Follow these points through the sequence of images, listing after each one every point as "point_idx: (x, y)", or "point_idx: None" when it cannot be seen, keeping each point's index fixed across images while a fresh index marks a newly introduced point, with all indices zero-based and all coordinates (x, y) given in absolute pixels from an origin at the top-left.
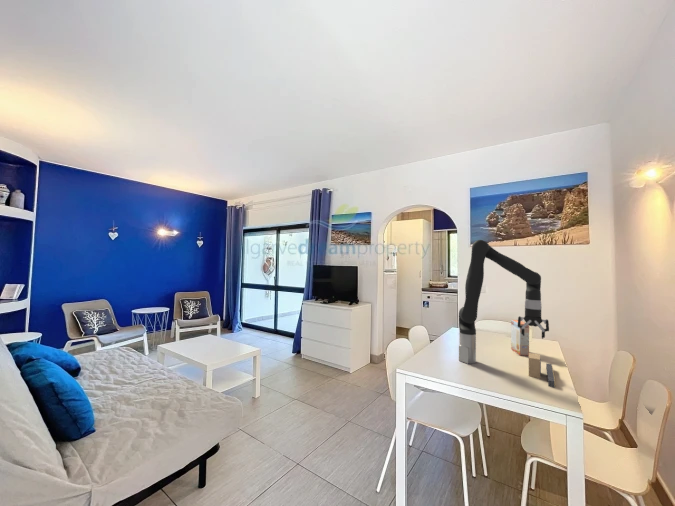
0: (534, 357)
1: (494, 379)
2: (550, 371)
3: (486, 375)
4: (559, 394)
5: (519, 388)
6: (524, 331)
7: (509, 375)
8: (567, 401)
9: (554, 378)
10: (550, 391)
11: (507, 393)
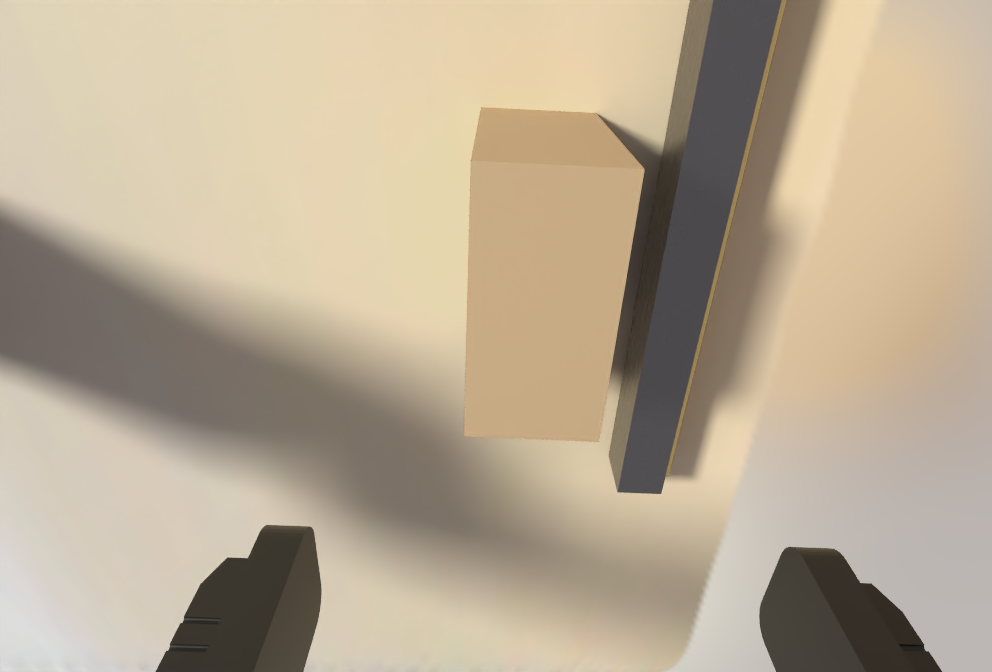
0: (538, 389)
1: (241, 527)
2: (699, 239)
3: (166, 488)
4: (652, 543)
5: (415, 577)
6: (266, 636)
7: (318, 393)
8: (671, 605)
9: (684, 408)
10: (604, 528)
11: (360, 659)
